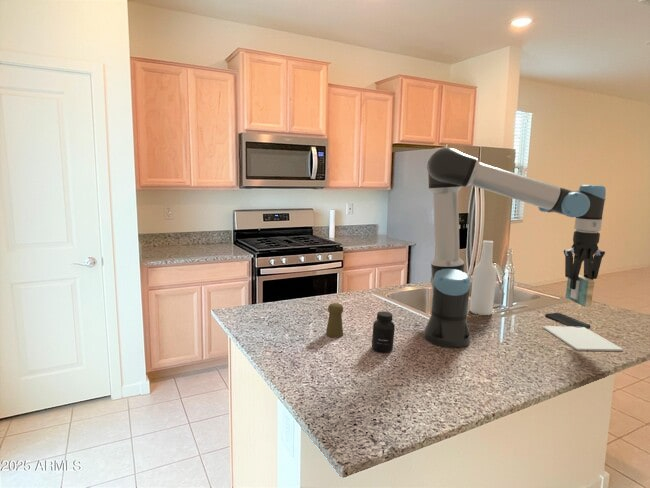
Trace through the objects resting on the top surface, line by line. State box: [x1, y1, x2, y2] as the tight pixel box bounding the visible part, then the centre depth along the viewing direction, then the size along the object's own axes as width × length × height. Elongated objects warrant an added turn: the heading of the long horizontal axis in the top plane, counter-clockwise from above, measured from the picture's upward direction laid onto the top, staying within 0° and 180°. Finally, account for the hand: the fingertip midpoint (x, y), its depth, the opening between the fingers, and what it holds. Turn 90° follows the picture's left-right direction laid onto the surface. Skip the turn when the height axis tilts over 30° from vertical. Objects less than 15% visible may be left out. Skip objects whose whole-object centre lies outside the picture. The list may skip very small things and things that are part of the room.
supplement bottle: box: [371, 310, 396, 354], centre depth 131 cm, size 7×7×12 cm
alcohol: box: [469, 239, 498, 316], centre depth 168 cm, size 9×9×30 cm
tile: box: [564, 274, 595, 308], centre depth 143 cm, size 10×2×9 cm, turn 3°
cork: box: [325, 302, 344, 339], centre depth 142 cm, size 6×6×11 cm
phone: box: [544, 312, 591, 329], centre depth 164 cm, size 8×1×15 cm
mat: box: [542, 325, 624, 352], centre depth 147 cm, size 16×20×1 cm
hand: (578, 298), depth 143 cm, fingers closed on tile, 2 cm apart
